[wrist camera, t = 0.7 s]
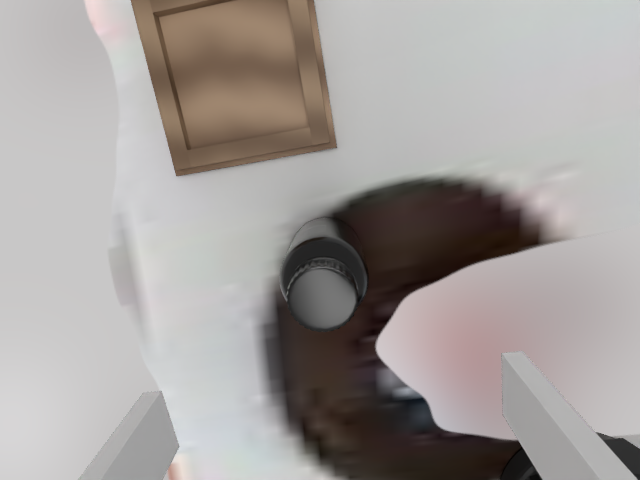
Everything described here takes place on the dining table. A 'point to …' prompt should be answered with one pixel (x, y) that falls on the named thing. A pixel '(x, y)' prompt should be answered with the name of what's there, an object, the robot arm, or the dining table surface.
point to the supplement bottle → (324, 275)
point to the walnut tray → (236, 79)
